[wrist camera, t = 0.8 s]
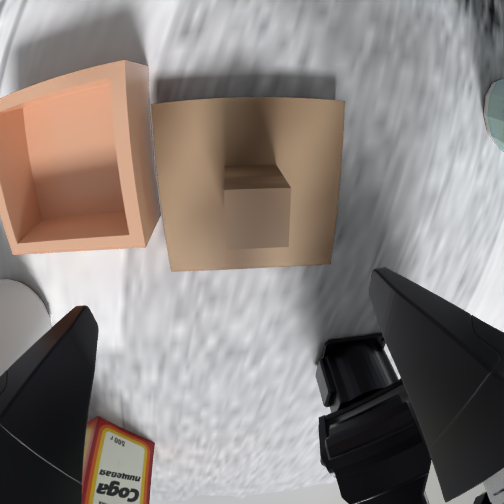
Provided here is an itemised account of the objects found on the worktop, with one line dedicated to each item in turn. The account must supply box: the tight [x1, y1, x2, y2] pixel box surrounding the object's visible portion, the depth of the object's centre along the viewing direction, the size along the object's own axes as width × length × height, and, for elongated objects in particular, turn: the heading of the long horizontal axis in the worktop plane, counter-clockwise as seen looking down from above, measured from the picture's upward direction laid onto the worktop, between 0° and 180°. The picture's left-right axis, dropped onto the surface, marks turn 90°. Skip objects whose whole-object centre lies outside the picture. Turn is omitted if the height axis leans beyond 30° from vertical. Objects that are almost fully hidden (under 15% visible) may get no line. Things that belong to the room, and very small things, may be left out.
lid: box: [151, 97, 345, 272], centre depth 17 cm, size 11×11×6 cm
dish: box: [0, 60, 161, 255], centre depth 15 cm, size 10×10×4 cm
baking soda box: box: [82, 416, 155, 504], centre depth 29 cm, size 10×6×16 cm
